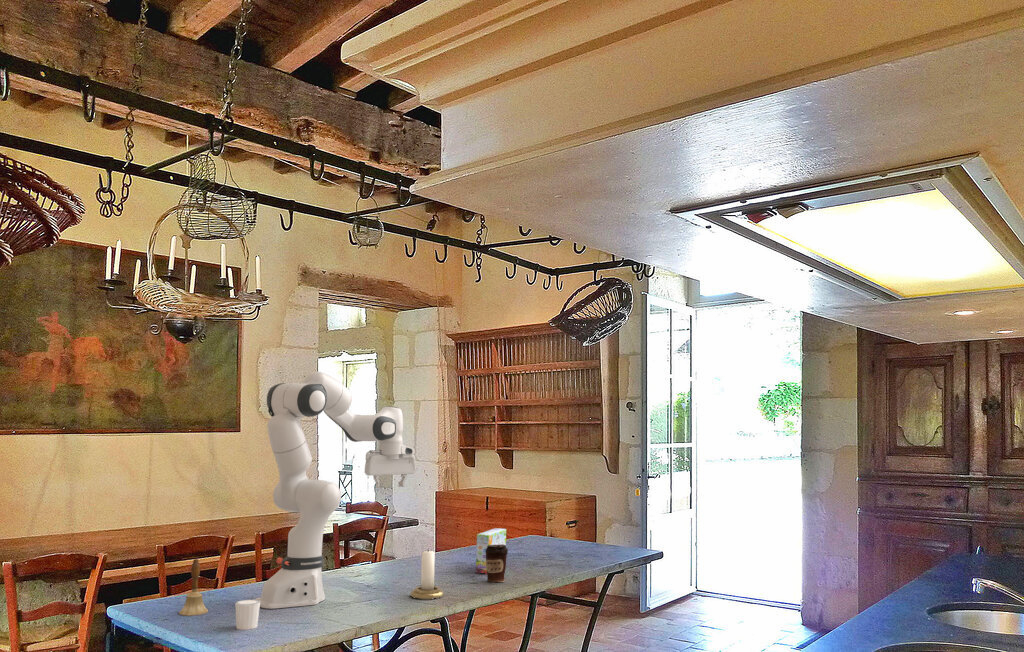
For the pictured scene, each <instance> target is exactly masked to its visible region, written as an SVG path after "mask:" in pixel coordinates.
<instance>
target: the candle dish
mask: <svg viewBox="0 0 1024 652" xmlns="http://www.w3.org/2000/svg"><path fill="white" fill-rule="evenodd" d="M441 588H442V587H439V586H435V585H434V590H430V591H426V590H421V586H416V587H415V588H414V589H413V590H411V591H410V597H411V596H412V597H415V598H419V599H418V600H420V599H432V598H438V597H442V596H443V595H445V593H444V592H445V591H444V590H443V589H441ZM412 597H411V598H412ZM443 597H444V596H443ZM443 597H442V598H443ZM432 600H433V599H432Z"/></svg>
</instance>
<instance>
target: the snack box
mask: <svg viewBox="0 0 1024 652" xmlns="http://www.w3.org/2000/svg"><path fill="white" fill-rule="evenodd" d="M488 545H506V546H507V528H497V527H495V528H492V529H489V530H486V531H483V532H480V533H477V534H476V554H475V555H476V557H475V558H476V559H475V561H476V562H475V573H476V574H480V573H485V574H484V575H487V566H486V552H485V550H486V548H487V546H488Z"/></svg>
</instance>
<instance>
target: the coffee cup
mask: <svg viewBox="0 0 1024 652" xmlns="http://www.w3.org/2000/svg"><path fill="white" fill-rule="evenodd" d="M485 552H486V566H487V574H486V575H487V578H486V579H487V582H491V583H503V582H504V583H505V582H506V579H505V573H506V569H507V556H508V552H509V549H508V548H507V544H506V545H488V546H487V548H486V550H485Z"/></svg>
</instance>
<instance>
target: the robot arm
mask: <svg viewBox="0 0 1024 652" xmlns="http://www.w3.org/2000/svg"><path fill="white" fill-rule="evenodd" d="M351 404H352V392H351V391H350V390H349V389H348V388H347V387H346V385H344V384H343V383H342V382H340V381H339V380H337V379H336V378H334V377H332V376H331V375H329V374H327V373H325V372H322V371H314V372H311V373H309V374H308V375H307V376H306V377H305V378H304V381H303V383H301V382H300V383H299V382H287V383H285V382H282V383H277V384H274V385H273V386H271V387H270V389H269V390H268V392H267V395H266V405H267V408H268V415H270V419H269V420H268V421H267V424H266V425H267V433H268V439H269V444H270V447H271V450H272V452H273V453H272V454H273V455H274V458H275V462H276V465H277V468H278V474H279V477H278V483H277V484H276V485H275V486H274V489H273V492H272V493H273V494H272V498H273V499H272V500H273V504H274V505H275V506H276V507H277V508H278V509H281V510H284V511H287V512H290V513H300V516H299V519H298V522H297V524H296V525H295V526H293V527H292V528H291V529H290V530H289V531H288V535H287V536H288V537H287V555H286V556H285V557H284V558H283V557H280V556H279V557H277V558H276V561H275V562H276V564H278V565H281V568H280V569H279V570H278V571H277V572H275V574H273V575H272V576H271V577H270V578H269V579H267V580H266V581H265V582H264V584H263V586H262V590H261V596H260V597H256V598H254V600H259V601H260V608H263V609H270V610H271V609H272V610H274V609H281V608H283V609H285V608H293V607H302V606H303V607H304V606H306V607H307V606H314V605H315V606H316V605H318V604H319V603H320V602H322V601H324V600H326V594H325V592H324V584H323V573H322V572H323V569H324V554H322V553H323V538H324V531H325V527H326V524H327V521H328V520H329V518H330V516H331V515H332V513H334V512H335V511H336V510H338V508H339V506H340V503H341V500H342V493H341V490H340V487H339V486H338V485H337V484H336V483H333V482H331V481H327V480H323V479H309V477H308V476H307V470H309V468H310V466H311V464H312V461H313V456H312V454H311V450H310V447H309V445H308V444H309V443H308V440H307V439H306V436H305V433H304V431H303V428H302V417H307V418H311V417H317V416H318V415H320V414H321V413H322V412H323V413H324V414H325V415H326V416H327V417H328V418H329V419H330V420H331V421H332V422H334V424H336V425H337V426H338V427H339V428H340V429H341V430H342V432H344V434H345V436H346V437H347V438H348V440H350V441H351V442H354V443H358V442H379V444H378V448H379V449H376V450H373V449H371V450H369V451H367V452H366V453H365V464H364V474H365V475H366V476H373V480H374V482H375V488H377V489H380V488H382V486H383V485H382V484H383V482H380V476H390V475H391V476H396V475H400V477H401V479H400V481H397V482H398V484H397V485H398V487H401V488H403V487H405V481H406V480H407V478H408V475H413V474H415V473H416V471H417V468H416V467H417V462H416V457H415V455H414V454H415V451H416V450H415V448H412V447H410V446H407V445H404V440H403V433H404V415H403V411H402V409H401V408H399V407H397V406H391V405H390V406H389V405H387V406H386V405H385V406H382V407H381V410H380V411H378V412H377V413H374V414H372V415H371V414H370V415H369V414H367V415H365V414H353V413H351V412H350V411H349V408H350V407H351Z"/></svg>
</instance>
